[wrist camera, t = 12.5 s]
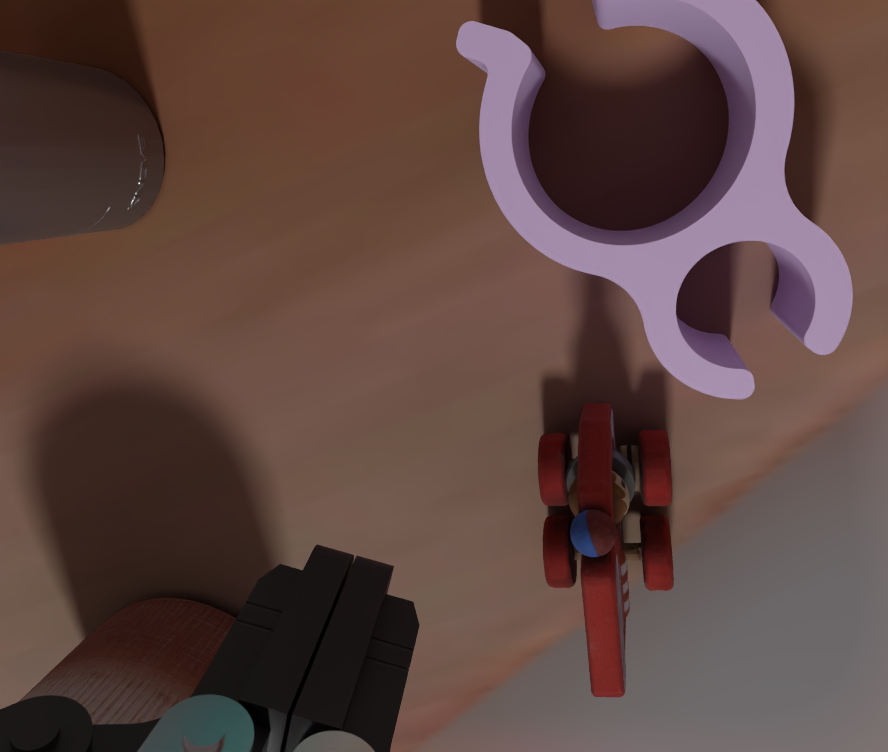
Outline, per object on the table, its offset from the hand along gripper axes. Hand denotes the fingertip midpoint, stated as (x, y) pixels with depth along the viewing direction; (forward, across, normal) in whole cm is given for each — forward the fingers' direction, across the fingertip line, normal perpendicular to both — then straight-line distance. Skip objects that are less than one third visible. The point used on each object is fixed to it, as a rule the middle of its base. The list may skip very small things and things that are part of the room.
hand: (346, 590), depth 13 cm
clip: (+28, -8, -6) cm, 30 cm away
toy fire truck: (+26, -11, +11) cm, 30 cm away
